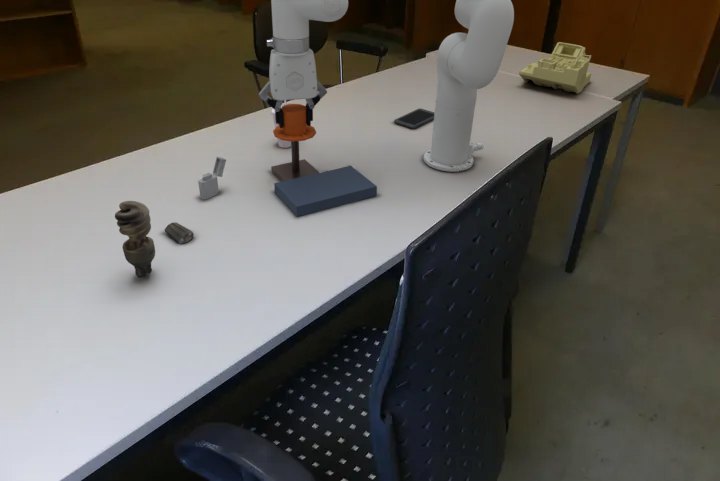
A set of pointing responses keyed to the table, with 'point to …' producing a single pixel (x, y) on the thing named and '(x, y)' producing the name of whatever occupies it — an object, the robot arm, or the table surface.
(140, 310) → the table surface
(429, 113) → the cell phone
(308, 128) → the hat
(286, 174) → the hat stand
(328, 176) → the low stand
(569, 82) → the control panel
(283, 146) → the smoothie
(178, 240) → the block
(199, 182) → the lighter
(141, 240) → the light bulb
